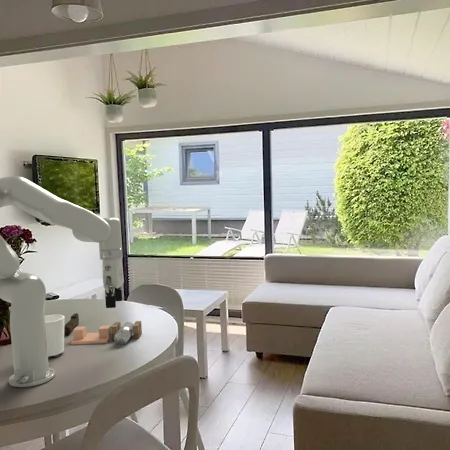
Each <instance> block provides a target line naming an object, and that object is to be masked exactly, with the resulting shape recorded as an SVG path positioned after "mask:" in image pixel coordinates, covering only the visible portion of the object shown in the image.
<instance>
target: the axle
mask: <svg viewBox="0 0 450 450" xmlns="http://www.w3.org/2000/svg"><path fill="white" fill-rule="evenodd" d="M133 325H134V323H133V322H131V321H126V322H124V323H123V324H122V325H121V328H120V329H119V330H118V332H117V333H116V334H115V336H114V340H113V342H114V343H115V344H116V345H118V346H125V345H126V344H127V343H128V341H129V340H130V339H131V337H132V336H133Z"/></svg>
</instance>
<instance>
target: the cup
mask: <svg viewBox="0 0 450 450" xmlns="http://www.w3.org/2000/svg"><path fill="white" fill-rule="evenodd" d="M65 319H66V317H65V315H63V314H48V315H45V325H46V337H47V350H48V359H50V358H51V357H53V358H57V357H60V355H62V354H63V353H64V352H65V336H64V326H65V322H66V321H65Z"/></svg>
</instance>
